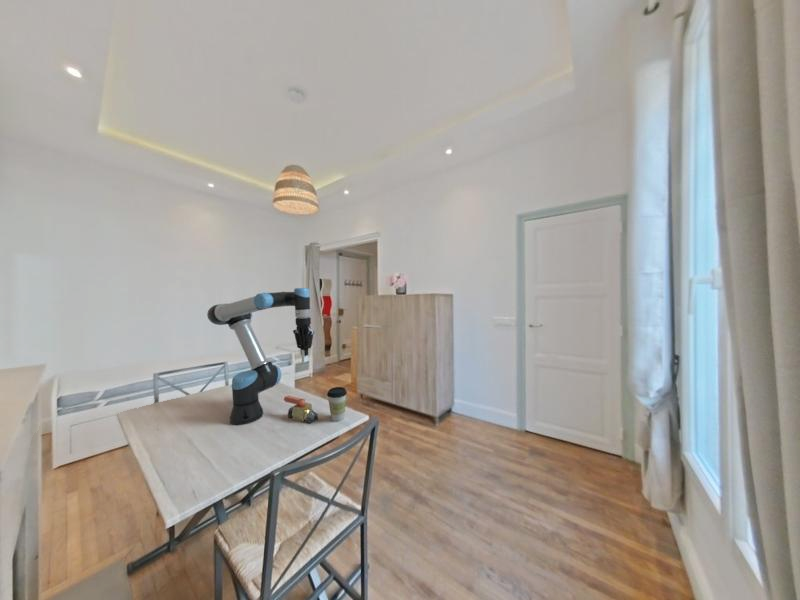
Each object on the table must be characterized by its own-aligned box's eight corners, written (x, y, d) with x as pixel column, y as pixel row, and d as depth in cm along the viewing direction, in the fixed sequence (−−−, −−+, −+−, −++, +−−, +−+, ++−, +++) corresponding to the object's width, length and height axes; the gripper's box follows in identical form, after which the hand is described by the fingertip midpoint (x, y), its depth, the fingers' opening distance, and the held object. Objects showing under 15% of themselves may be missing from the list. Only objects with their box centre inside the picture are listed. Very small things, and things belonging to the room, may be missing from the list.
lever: (306, 404, 141) (306, 398, 141) (302, 406, 138) (302, 401, 138) (287, 399, 147) (287, 394, 147) (282, 402, 144) (282, 396, 144)
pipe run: (287, 419, 141) (286, 404, 141) (295, 413, 147) (295, 400, 146) (310, 425, 135) (309, 410, 134) (318, 419, 140) (318, 405, 139)
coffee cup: (343, 424, 134) (342, 394, 133) (324, 422, 136) (323, 393, 135) (350, 414, 144) (349, 387, 143) (333, 413, 145) (332, 385, 145)
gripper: (288, 317, 142) (290, 362, 144) (307, 318, 137) (309, 364, 138) (299, 316, 149) (300, 358, 150) (317, 316, 143) (319, 360, 145)
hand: (304, 361), depth 144 cm, fingers closed
